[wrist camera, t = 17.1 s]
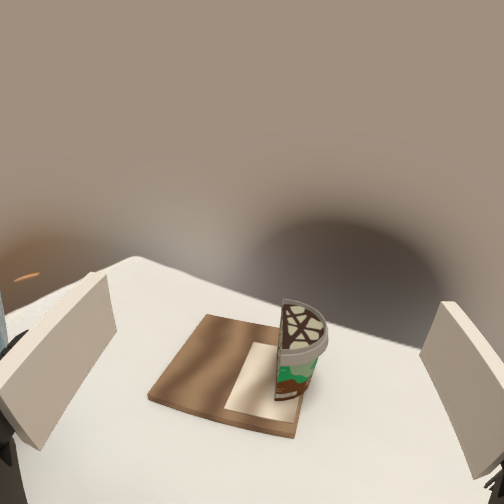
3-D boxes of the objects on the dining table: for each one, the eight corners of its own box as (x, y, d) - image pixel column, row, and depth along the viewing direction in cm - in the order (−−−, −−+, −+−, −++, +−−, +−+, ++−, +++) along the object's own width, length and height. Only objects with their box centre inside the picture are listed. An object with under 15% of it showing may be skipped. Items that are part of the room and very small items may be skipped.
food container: (320, 411, 35) (337, 355, 31) (273, 409, 35) (281, 352, 32) (314, 352, 46) (325, 299, 43) (276, 350, 47) (282, 296, 43)
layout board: (148, 399, 37) (147, 393, 36) (206, 319, 56) (206, 313, 56) (293, 438, 32) (295, 432, 32) (312, 338, 52) (314, 332, 51)
